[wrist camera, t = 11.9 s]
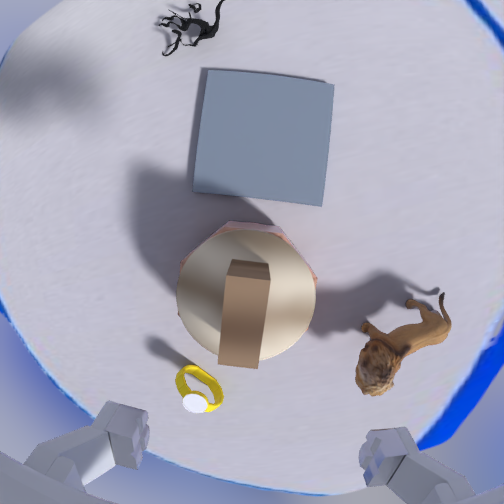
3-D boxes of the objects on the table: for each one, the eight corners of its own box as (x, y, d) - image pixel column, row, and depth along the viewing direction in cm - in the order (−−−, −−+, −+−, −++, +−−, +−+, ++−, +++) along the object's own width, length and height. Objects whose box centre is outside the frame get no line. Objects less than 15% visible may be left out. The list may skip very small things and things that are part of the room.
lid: (183, 221, 27) (163, 230, 21) (324, 238, 27) (341, 252, 21) (176, 346, 29) (160, 380, 23) (301, 361, 29) (309, 398, 23)
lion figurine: (351, 370, 36) (372, 414, 27) (333, 339, 35) (353, 382, 26) (447, 306, 34) (486, 335, 25) (435, 272, 33) (477, 296, 25)
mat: (209, 73, 30) (208, 69, 29) (332, 87, 30) (334, 84, 29) (194, 191, 32) (192, 191, 31) (320, 206, 32) (321, 206, 31)
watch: (179, 367, 37) (164, 392, 31) (192, 353, 36) (178, 378, 30) (216, 396, 37) (207, 425, 31) (230, 384, 36) (223, 412, 31)
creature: (151, 56, 30) (207, 69, 29) (126, 37, 25) (187, 46, 24) (181, 5, 29) (239, 14, 27) (162, -18, 23) (225, -14, 22)
